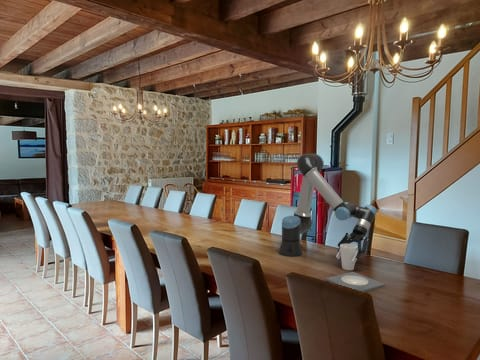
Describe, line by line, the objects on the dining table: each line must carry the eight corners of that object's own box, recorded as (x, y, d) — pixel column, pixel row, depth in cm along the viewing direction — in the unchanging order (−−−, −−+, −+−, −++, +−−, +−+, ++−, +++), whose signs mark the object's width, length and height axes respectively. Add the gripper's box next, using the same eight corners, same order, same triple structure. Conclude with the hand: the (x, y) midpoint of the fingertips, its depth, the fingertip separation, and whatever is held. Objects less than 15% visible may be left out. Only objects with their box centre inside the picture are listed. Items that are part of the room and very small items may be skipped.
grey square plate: (325, 280, 178) (325, 277, 178) (352, 273, 188) (352, 270, 188) (356, 294, 161) (356, 290, 161) (384, 286, 171) (384, 282, 171)
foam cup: (345, 271, 191) (345, 248, 190) (336, 266, 200) (336, 244, 198) (360, 270, 193) (361, 247, 192) (350, 265, 202) (351, 243, 201)
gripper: (381, 235, 196) (365, 269, 187) (347, 228, 213) (331, 259, 204) (377, 227, 192) (360, 261, 184) (342, 221, 209) (325, 251, 200)
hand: (345, 260), depth 194 cm, fingers closed on foam cup, 9 cm apart
